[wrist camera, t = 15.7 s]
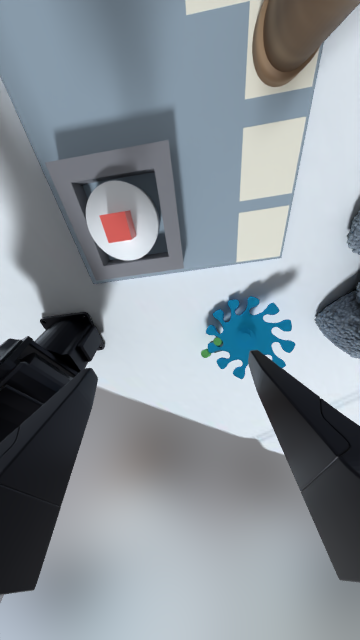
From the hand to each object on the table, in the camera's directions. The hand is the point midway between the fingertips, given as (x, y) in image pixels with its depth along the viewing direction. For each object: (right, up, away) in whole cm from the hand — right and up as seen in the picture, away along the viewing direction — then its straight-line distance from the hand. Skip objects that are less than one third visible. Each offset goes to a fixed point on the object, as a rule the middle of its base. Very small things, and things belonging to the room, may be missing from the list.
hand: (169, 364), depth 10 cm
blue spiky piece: (+8, +2, +15) cm, 17 cm away
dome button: (-4, +12, +6) cm, 14 cm away
